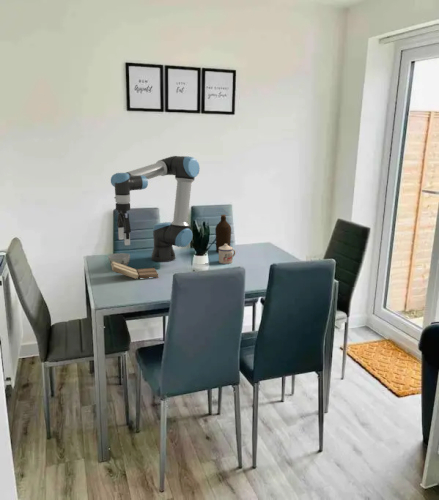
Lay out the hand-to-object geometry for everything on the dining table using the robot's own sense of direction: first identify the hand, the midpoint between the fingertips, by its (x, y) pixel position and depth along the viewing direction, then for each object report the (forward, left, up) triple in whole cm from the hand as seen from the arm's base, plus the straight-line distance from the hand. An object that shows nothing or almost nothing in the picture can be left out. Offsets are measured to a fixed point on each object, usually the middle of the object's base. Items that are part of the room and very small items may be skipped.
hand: (124, 242), depth 238 cm
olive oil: (-40, +69, -21) cm, 83 cm away
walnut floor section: (-3, +12, -21) cm, 24 cm away
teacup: (-22, -2, -21) cm, 31 cm away
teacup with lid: (-16, +64, -21) cm, 70 cm away
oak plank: (-3, -1, -18) cm, 18 cm away
